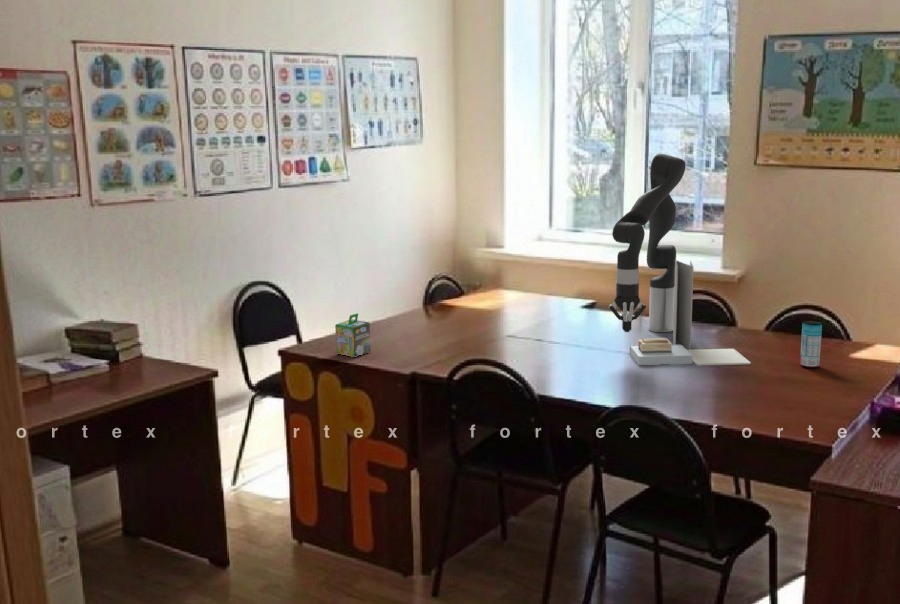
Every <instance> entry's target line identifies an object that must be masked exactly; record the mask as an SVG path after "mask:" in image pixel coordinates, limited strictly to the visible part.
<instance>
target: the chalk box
mask: <svg viewBox="0 0 900 604" xmlns="http://www.w3.org/2000/svg"><path fill="white" fill-rule="evenodd" d="M358 317H359V313H354V314H350V316H349V319H347V320H345V321H342V322H340V323H339V322H338V323H336V324H335V325H334V326H335V341H336V343H335V344H336V354H337V353H341V354H346V355H350V356H358V355H362V354H365V353H368V352H370V351H371V328H370V327H371V325H370V323H371V322H370V321H364V320H358ZM353 318H354V319H353ZM368 354H369V353H368ZM365 355H366V354H365ZM362 356H363V355H362Z"/></svg>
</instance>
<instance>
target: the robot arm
mask: <svg viewBox="0 0 900 604" xmlns="http://www.w3.org/2000/svg"><path fill="white" fill-rule="evenodd" d="M649 169H650V171H649V172H650V173H649V175H650V176H649V177H650V178H649V180H650V190H648V191H646V192H644V193H643V194H642V195H640V196H639V197H638V198H637V200H636V201H635V203H634V204H633V206H632V207H631V209H630V210H629V211H628V212H626V213H625V214H624V215H623V216H622V217H621V218H619V219H618V220H617V222H616V223H615V224H614V225H613V229H612V231H611V232H612V239H613V240H614V241H615V242H617V243H621V244H629V245H628V248H627V249H624V250H620V251H618V253H617V263H616V264H617V268H616V275H615V276H616V278H615V279H616V281H615V283H616V285H615V298H614V301H613V302H612V303H611V304H608V308H609V310H610V311H611V312H612V313H613V314H614V316H615V317H616V318H617V319H618V320H619V321H621V323H622V324H621V328H622V330H623V332H625V333H630V331H632V322H633V320H638V318H639V317H640V315H641V314H642V313H643V312H644V310H645V309H646V308H647V306H646V304H645V303H643V302H641V299H640V295H639V294H640V272H639V262H640V261H639V259H640V258H639V257H640V254H641V249H642V247H643V242H644V239H645V228H644V226H645V225H647V224H648V222H649V226H648V227H649V229H648V230H649V235H648V244H647V251H646V265H647V266H648V268H649V269H652V270H666V271H665V272H663V273H662V274H660V275H657V276H654V277H651V278H650V281H649V307H648V308H649V309H648V311H649V312H648V317H649V318H648V331H651V332H655V333H670V332H672V331H673V321H674V289H675V260H677V249H676V247H675V245H673V244H672V245H671V244H660V242H661V240H662V239H663V238H664V237H665V236H666V235H667V234H668V233H669V232H670V231H671V230H672V228H673V227H674V225H675V223H676V213H677V207H676V204H675V202H674V199H673V197H672V196H671V192H672V191H673V190H674V189H675V188H676V187H677V186H678V185H679V183H680V182H681V181H682V179H683V177H684V175H685V172H686V161H685V159H682V158H679V157H676V156H673V155H668V154H666V153H657V154H655V155H654V157H653V158H652V161H651V163H650V168H649ZM617 307H618V309H619V310H620V312H621V315H620V313H619V312H618V311H617V310H616V309H617ZM636 308H637V309H636ZM635 309H636V311H635Z"/></svg>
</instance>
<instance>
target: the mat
mask: <svg viewBox="0 0 900 604" xmlns="http://www.w3.org/2000/svg"><path fill="white" fill-rule="evenodd" d="M686 350H687V351H688V352H690V353H691V354H692V363H693V364H695V366H701V367H702V366H731V365H734V366H735V365H736V366H737V365H738V366H740V365H751V364H752V363H751V361H749V359H748V358H746V357H744V356H743V354H741V353H739V351H737V350H736V349H735V348H711V349H710V348H707V349H706V348H705V349H702V348H701V349H700V348H699V349H691V350H689V349H686Z"/></svg>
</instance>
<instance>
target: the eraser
mask: <svg viewBox="0 0 900 604" xmlns="http://www.w3.org/2000/svg"><path fill="white" fill-rule="evenodd" d="M637 342H638V349H639V350H640V351H641V353H672V345H673V342H671V341H670V340H669V339H668V338H666V337H656V338H655V337H654V338H653V337H651V338H650V337H649V338H648V337H647V338H642V339H638V341H637Z"/></svg>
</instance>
